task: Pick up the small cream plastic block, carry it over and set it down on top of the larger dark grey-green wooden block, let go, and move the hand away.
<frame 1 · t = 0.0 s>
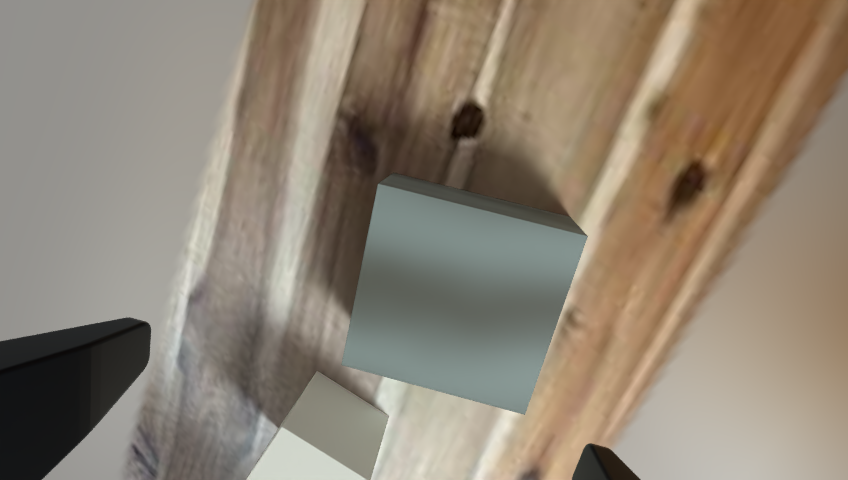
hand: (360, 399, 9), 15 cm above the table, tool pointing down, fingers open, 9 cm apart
cream block: (332, 421, 27), on the table
slate block: (458, 274, 24), on the table
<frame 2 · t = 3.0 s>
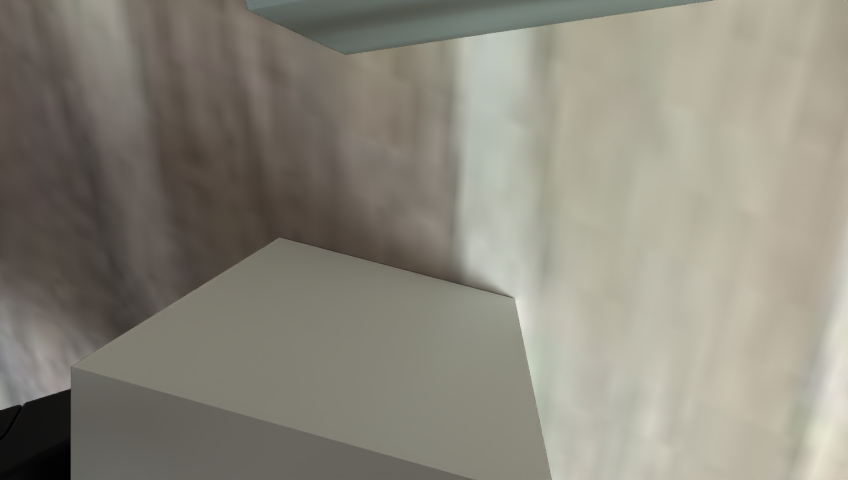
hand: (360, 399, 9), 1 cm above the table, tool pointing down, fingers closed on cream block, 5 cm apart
cream block: (372, 371, 10), on the table, touching gripper
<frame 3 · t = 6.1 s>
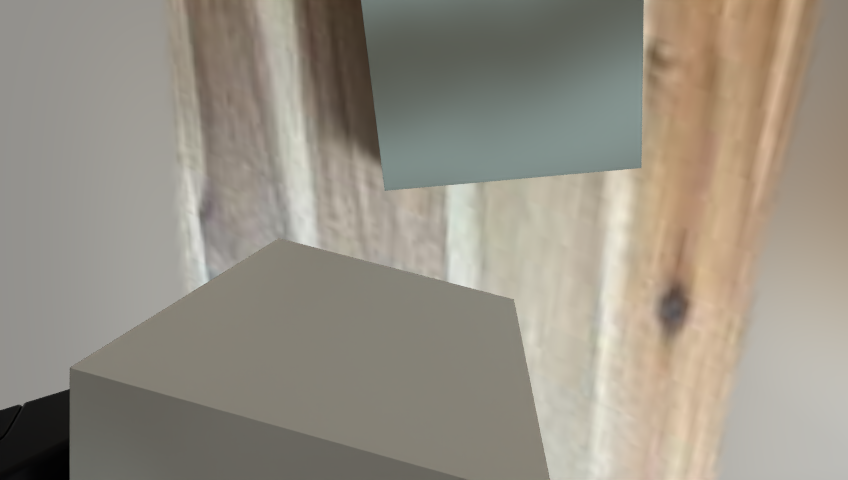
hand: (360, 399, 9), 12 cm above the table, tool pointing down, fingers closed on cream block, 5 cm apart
cream block: (371, 371, 10), point 11 cm above the table, touching gripper
slate block: (495, 60, 19), on the table
when the fingers open (6 cm above the table, at t = 9.1 s): cream block drops 2 cm, point 4 cm above the table.
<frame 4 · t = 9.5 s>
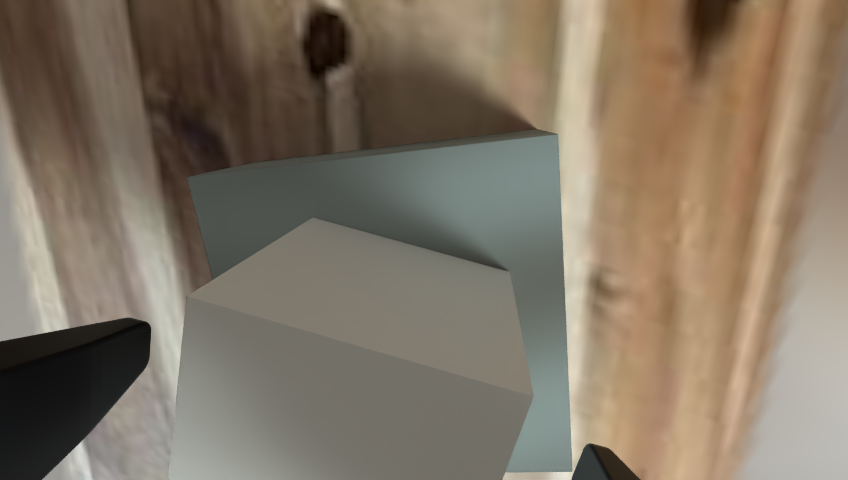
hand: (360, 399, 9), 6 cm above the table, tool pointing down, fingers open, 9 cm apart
cream block: (387, 333, 12), point 4 cm above the table
slate block: (410, 277, 16), on the table
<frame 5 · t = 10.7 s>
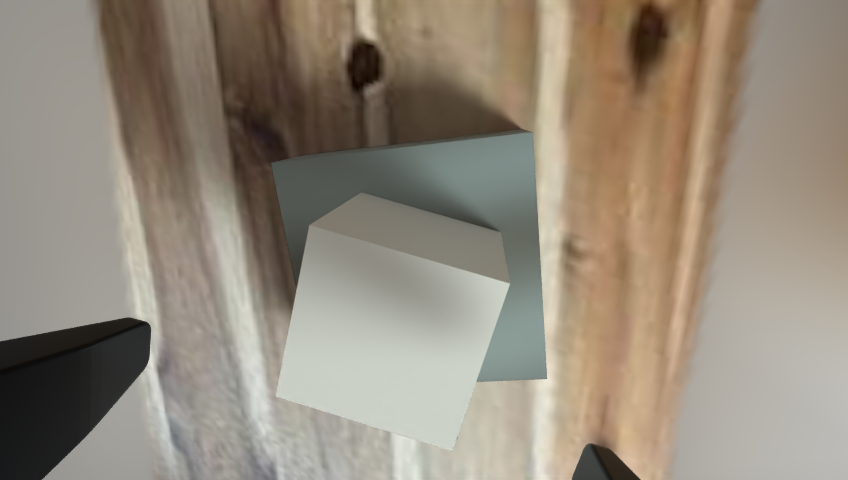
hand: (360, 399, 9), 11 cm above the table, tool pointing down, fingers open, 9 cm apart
cream block: (412, 277, 16), point 4 cm above the table
slate block: (425, 244, 20), on the table
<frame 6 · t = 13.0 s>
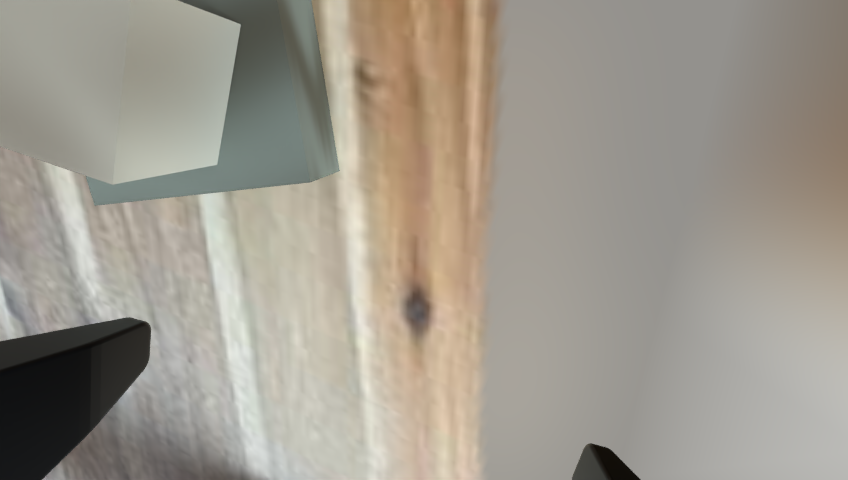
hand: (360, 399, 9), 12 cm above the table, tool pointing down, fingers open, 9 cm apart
cream block: (163, 76, 16), point 4 cm above the table
slate block: (227, 79, 20), on the table
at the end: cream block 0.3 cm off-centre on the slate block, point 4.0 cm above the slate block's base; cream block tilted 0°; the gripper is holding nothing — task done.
